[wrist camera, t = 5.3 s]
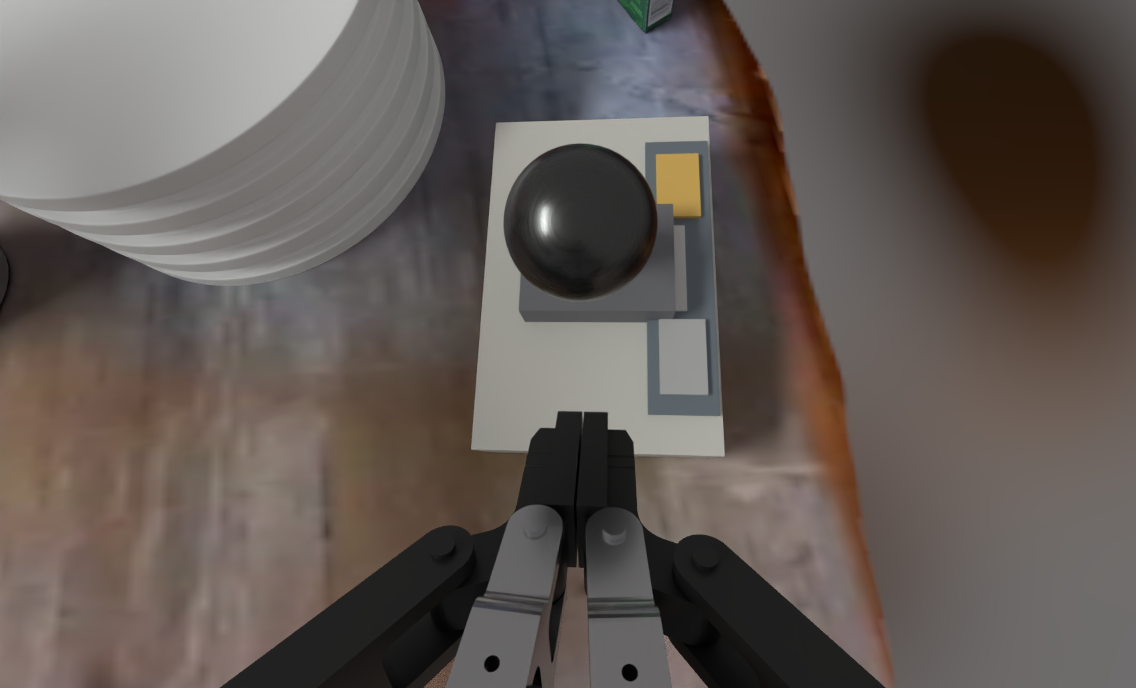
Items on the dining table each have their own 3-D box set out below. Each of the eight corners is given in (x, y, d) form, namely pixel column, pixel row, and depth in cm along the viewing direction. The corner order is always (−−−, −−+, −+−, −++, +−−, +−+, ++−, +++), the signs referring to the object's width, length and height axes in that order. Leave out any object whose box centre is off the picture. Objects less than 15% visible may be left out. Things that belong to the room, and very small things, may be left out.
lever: (631, 275, 25) (663, 310, 10) (561, 275, 25) (489, 310, 10) (633, 202, 24) (668, 122, 9) (561, 203, 25) (482, 127, 10)
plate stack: (163, 362, 33) (-61, 308, 22) (50, 83, 40) (-162, -63, 29) (515, 150, 35) (471, 2, 24) (348, -81, 42) (255, -277, 31)
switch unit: (709, 458, 29) (734, 455, 23) (489, 452, 30) (459, 447, 24) (696, 157, 33) (715, 91, 28) (508, 161, 35) (488, 99, 29)
